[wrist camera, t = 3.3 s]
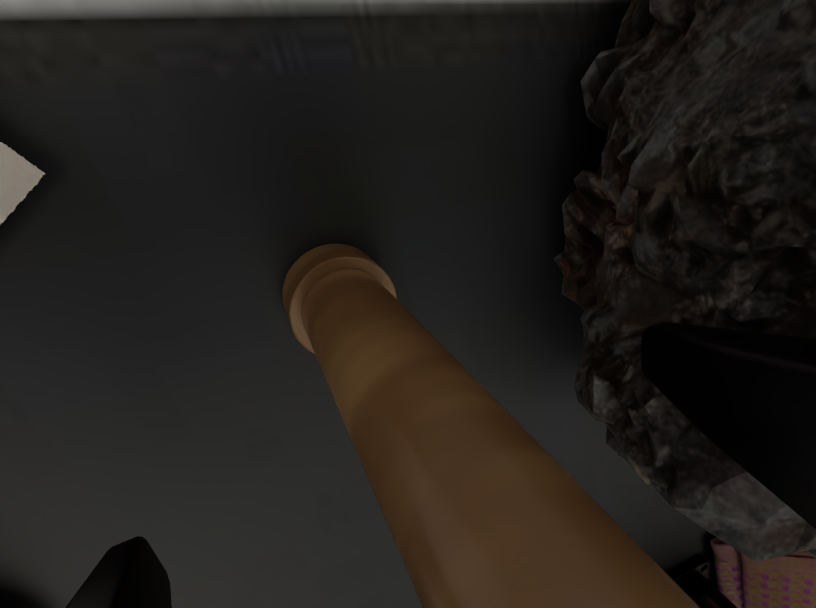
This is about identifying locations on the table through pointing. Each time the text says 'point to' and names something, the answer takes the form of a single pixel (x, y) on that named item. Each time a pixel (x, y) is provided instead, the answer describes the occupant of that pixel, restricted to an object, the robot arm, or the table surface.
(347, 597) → the table surface
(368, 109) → the table surface
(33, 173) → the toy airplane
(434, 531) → the pestle
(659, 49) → the rock
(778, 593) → the dish towel
